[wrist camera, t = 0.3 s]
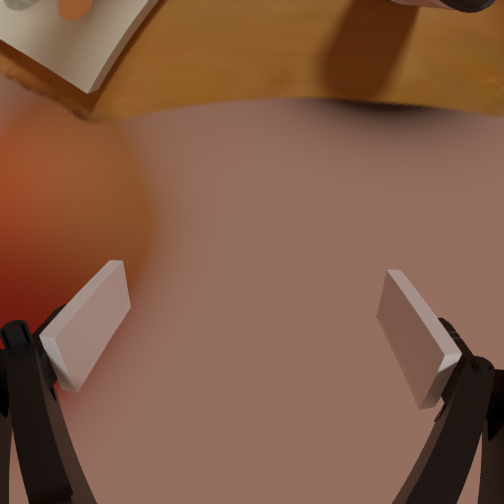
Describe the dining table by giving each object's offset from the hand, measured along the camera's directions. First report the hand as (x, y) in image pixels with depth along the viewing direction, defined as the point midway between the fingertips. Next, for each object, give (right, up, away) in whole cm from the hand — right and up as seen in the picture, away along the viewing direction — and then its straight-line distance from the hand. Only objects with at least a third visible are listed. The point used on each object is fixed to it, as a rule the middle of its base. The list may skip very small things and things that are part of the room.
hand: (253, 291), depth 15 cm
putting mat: (-22, +33, +8) cm, 41 cm away
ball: (-19, +28, +6) cm, 34 cm away
